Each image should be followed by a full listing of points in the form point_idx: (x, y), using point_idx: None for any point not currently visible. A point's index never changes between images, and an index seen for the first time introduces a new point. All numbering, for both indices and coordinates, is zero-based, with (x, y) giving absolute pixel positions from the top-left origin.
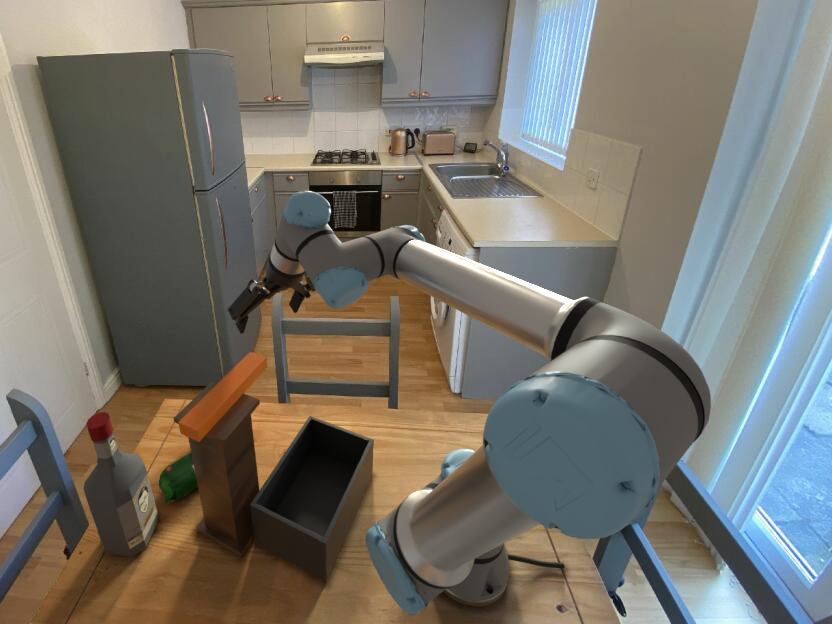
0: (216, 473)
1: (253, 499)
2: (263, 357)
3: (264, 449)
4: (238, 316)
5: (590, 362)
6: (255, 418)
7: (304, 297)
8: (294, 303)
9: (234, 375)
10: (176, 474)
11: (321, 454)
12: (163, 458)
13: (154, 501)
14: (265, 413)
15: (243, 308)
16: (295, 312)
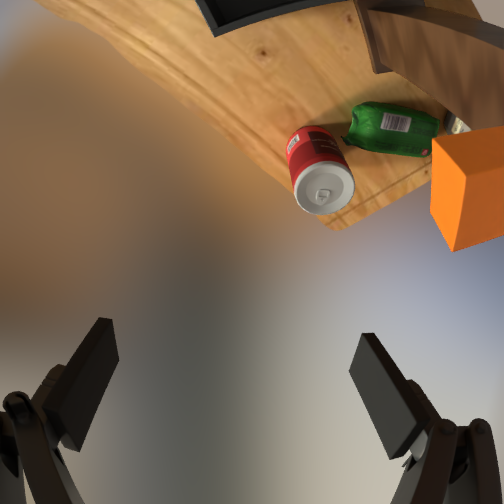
0: None
1: (400, 10)
2: (472, 186)
3: (287, 83)
4: (475, 436)
5: None
6: (257, 143)
7: (45, 383)
8: (99, 367)
9: None
10: (426, 137)
11: (218, 6)
12: (391, 175)
13: (468, 127)
14: (237, 140)
15: (492, 486)
16: (106, 321)
